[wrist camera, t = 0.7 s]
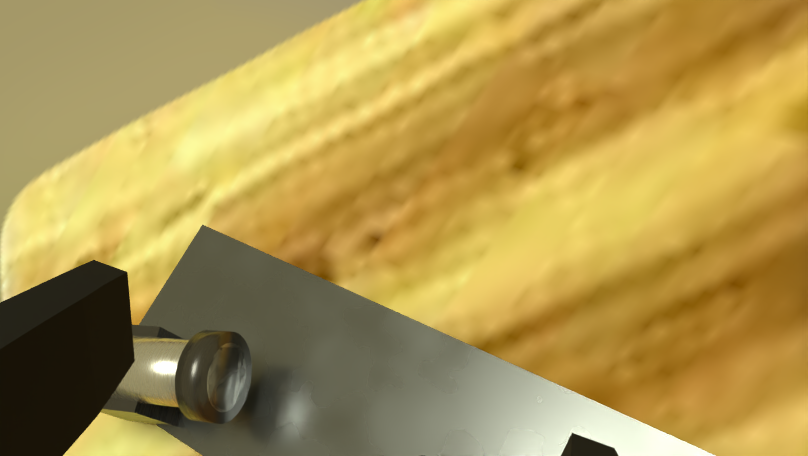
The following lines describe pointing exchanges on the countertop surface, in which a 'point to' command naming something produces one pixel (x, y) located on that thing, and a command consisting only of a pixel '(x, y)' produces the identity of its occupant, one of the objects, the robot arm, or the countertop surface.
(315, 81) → the countertop surface
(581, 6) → the countertop surface
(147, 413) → the shaft
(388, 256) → the countertop surface
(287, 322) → the base plate
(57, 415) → the robot arm
